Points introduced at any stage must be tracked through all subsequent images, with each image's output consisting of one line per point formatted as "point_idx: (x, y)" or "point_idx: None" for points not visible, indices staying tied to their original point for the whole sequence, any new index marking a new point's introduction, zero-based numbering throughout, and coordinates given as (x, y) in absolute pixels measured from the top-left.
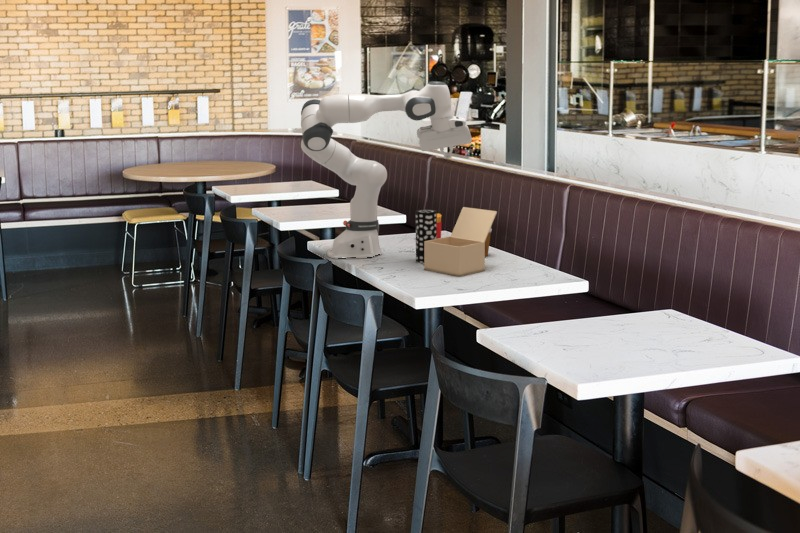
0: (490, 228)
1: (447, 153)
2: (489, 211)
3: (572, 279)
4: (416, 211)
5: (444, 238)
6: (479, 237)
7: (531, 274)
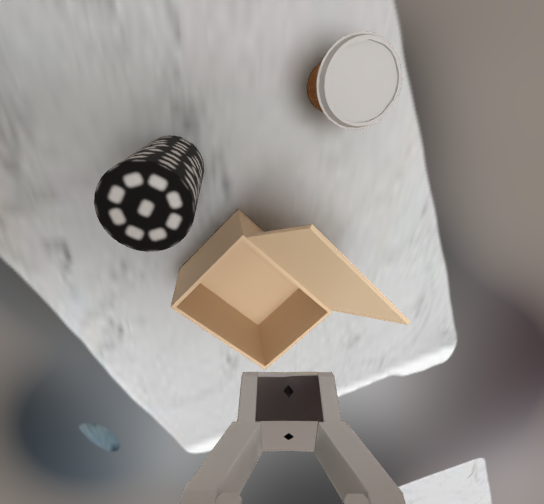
0: (394, 102)
1: (290, 434)
2: (388, 309)
3: (449, 332)
4: (101, 215)
5: (227, 254)
6: (324, 300)
7: (395, 301)
